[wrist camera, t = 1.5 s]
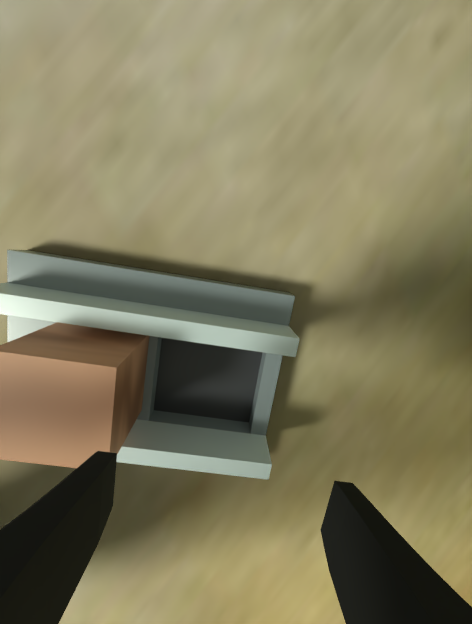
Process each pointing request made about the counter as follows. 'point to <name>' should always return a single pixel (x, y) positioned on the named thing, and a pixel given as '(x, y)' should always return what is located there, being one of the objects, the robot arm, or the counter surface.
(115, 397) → the cube
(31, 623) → the robot arm
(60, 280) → the channel
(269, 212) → the counter surface
